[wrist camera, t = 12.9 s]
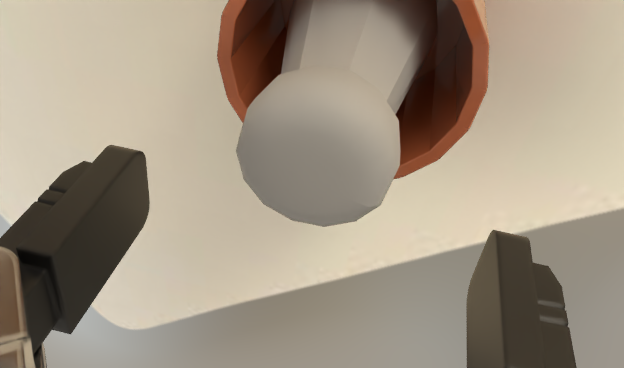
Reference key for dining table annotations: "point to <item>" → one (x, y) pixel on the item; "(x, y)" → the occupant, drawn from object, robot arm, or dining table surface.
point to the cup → (418, 101)
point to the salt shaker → (335, 108)
